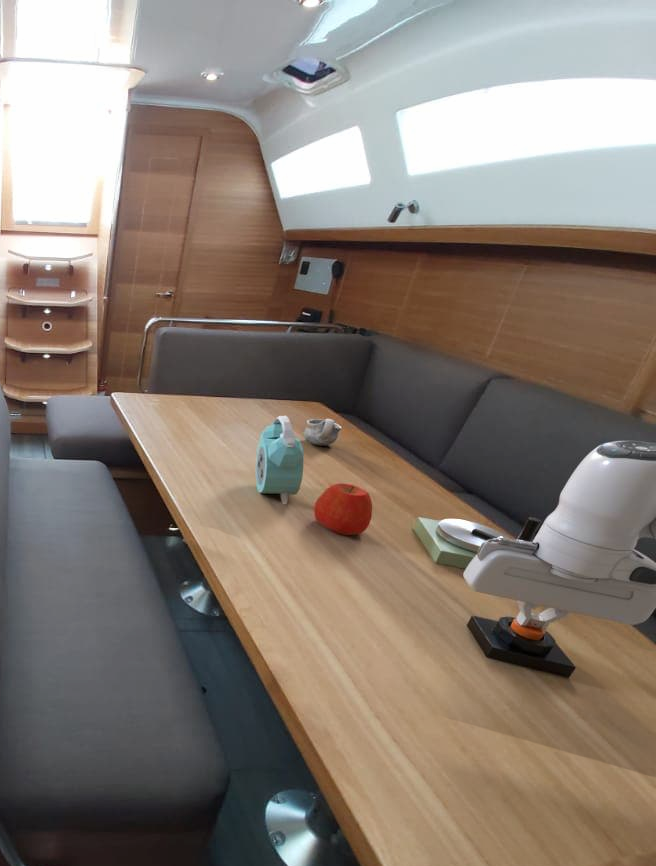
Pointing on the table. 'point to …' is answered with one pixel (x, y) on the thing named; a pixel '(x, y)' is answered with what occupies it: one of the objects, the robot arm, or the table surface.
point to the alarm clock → (279, 460)
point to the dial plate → (441, 545)
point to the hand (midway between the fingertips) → (529, 625)
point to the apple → (344, 509)
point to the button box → (519, 646)
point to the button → (527, 631)
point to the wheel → (479, 532)
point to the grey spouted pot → (321, 431)
